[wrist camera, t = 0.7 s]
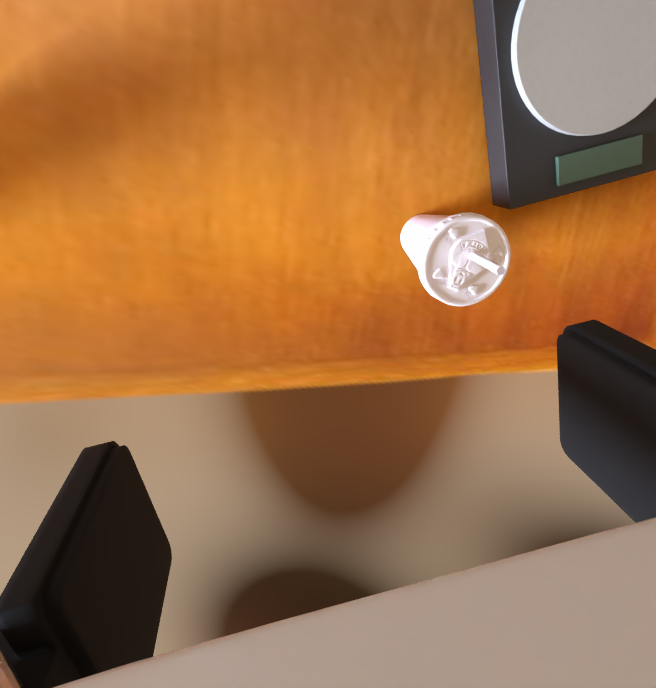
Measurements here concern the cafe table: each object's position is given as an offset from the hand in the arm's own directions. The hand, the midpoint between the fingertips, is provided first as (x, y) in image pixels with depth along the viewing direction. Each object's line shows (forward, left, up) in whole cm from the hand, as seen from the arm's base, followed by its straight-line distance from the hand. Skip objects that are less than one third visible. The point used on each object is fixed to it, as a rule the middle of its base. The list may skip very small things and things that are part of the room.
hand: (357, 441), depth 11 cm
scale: (-5, +26, -33) cm, 42 cm away
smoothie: (+5, +12, -33) cm, 35 cm away
